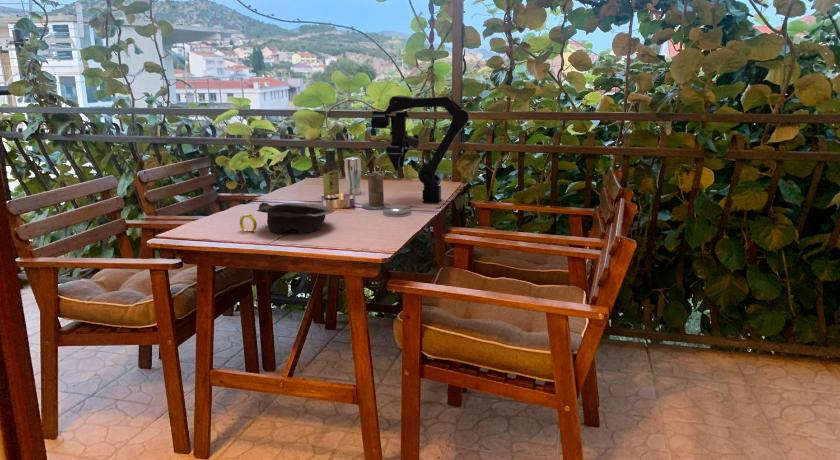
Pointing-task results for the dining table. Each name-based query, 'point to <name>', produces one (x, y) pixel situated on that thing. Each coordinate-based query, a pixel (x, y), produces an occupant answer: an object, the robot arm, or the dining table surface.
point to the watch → (250, 218)
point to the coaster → (368, 207)
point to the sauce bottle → (330, 174)
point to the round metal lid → (396, 210)
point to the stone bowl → (294, 216)
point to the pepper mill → (375, 189)
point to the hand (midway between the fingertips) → (399, 168)
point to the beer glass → (353, 175)
